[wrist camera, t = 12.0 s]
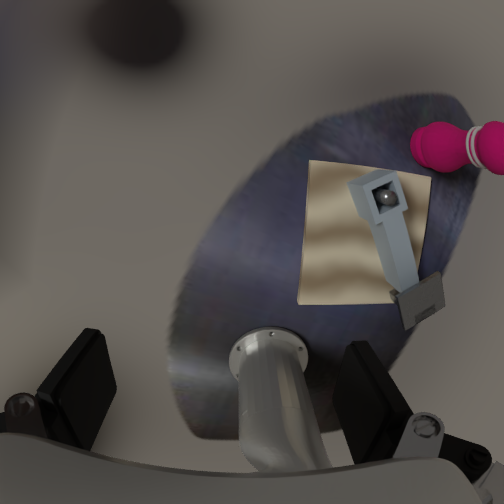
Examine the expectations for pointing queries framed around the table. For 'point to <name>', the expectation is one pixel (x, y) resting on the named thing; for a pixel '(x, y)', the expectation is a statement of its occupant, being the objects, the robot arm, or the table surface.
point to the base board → (350, 237)
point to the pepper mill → (459, 147)
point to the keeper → (419, 300)
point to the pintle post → (384, 196)
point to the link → (387, 226)
